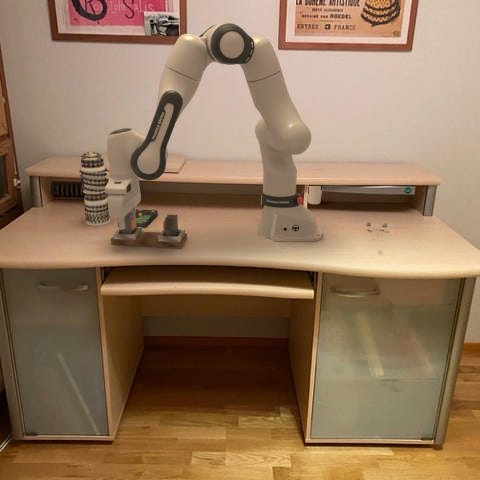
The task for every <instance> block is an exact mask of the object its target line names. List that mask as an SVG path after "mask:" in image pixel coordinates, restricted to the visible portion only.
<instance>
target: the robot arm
mask: <svg viewBox="0 0 480 480" xmlns="http://www.w3.org/2000/svg"><path fill="white" fill-rule="evenodd" d="M212 63H218V64H222V65H229V66H233V65H239V66H240V67H241V69H242V71H243V74H244V78H245V80H246V83H247V84H246V85H247V88H248V90H249V94H250V97H251V99H252V103H253V105H254V107H255V109H256V110H257V111H258V113H259V114H260V116H261V117H260V119H259V120H258V121H257V122H256V125H255V129H254V134H255V137H256V139H257V141H258V145H259V150H260V151H259V152H260V155H261V162H262V170H263V171H262V172H263V173H262V175H263V177H262V178H263V179H262V192H261V194H260V207H261V211H260V212H261V214H260V219H259V222H258V226H257V229H256V232H257V234H258V235H259V236H261V237H264V238H266V239H269V240H271V241H274V242H317V241H320V240H322V238H323V234H324V233H323V229H322V228H321V227H320V226H319V225H317V219H316V216H315V215H314V213H313V212H312V211H310V210H309V209H308V208H307V207H305V205H304V204H303V203H304V199H303V197H302V196H303V195H301V193H298V192H297V178H298V177H297V176H298V169H297V167H296V165H295V162H294V159H293V156H294V155H296V156H298V155H301V154H303V153H305V152H306V151H307V150H308V149H309V147H310V145H311V142H312V133H311V129H310V128H309V127H308V126H307V125H306V124H305V122H304V121H303V119H302V117H301V116H300V113H299V112H298V110H297V108H296V105H295V104H294V102H293V100H292V97H291V95H290V93H289V90H288V87H287V84H286V81H285V77H284V74H283V70H282V67H281V64H280V61H279V58H278V56H277V52H276V51H275V49H274V46H273V45H272V43H271V41H270V39H268V38H267V37H266V36H263V35H255V36H252V37H251V36H250V35H249V34H248V33H247V32H246V31H245V30H244V29H243V28H242V27H241V26H239V25H237V24H235V23H231V22H219V23H216V24H214V25H211V26H210V27H209V28H207V29H206V30H205V31H203V33H202V34H200V35H199V36H198V35H196V34H193V33H184V34H181V35H180V36H179V37H178V38H177V40H176V42H175V43H174V45H173V47H172V49H171V51H170V52H169V54H168V56H167V59H166V62H165V63H164V66H163V70H162V73H161V77H160V82H159V85H158V94H157V103H156V109H155V113H154V116H153V118H152V120H151V121H152V122H151V124H150V126H149V129H148V132H147V134H146V136H145V135H142V134H140V133H139V132H137V131H136V130H134V129H133V128H128V127H127V128H119V129H116V130H113V131H112V132H110V133H109V135H107V142H106V143H107V144H106V149H107V150H106V152H107V155H106V156H107V161H108V163H109V164H108V165H109V168H108V176H109V177H108V180H107V181H108V182H106V183H107V185H106V186H105V192H106V194H107V200H108V211H109V215H110V218H111V219H112V220H116V221H117V225H118V224H119V227H118V229H125V228H126V223H125V221H124V219H125V216H126V215H127V214H128V213H134V218H135V212H136V209H137V206H138V205H139V204H140V203H141V200H142V195H141V188H140V180H139V179H142V180H144V181H155V180H157V179H159V178H160V177H161V176H162V175H163V174H164V173H165V172H166V171H165V170H166V168H167V161H168V156H169V155H168V154H169V153H168V144H169V141H170V139H171V136H172V135H173V134H172V133H173V131H174V129H175V125H176V123H177V122H178V120H179V118H180V116H181V114H182V113H183V111H184V110H186V107H188V105H189V104H190V102H191V101H192V99H193V98H194V96H195V94H196V92H197V90H198V88H199V85H200V83H201V80H202V78H203V75H204V72H205V71H206V69H207V68H208V66H209V65H210V64H212Z"/></svg>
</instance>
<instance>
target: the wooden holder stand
mask: <svg viewBox="0 0 480 480" xmlns="http://www.w3.org/2000/svg"><path fill="white" fill-rule="evenodd" d="M178 217H179V216H178V214H167V216H166V217H164V219H165V220H164V221H163V222H162V225H163V229H162V231H161V232H159V231H143V228H142V227H136V228H135V232H134V233H133V234H122V229H119V228H118V229H117V230H116V231H115V232H114V233H113V235H112V236H111V238H110V245H111V246H112V245H113V246H128V245H135V246H134V247H147V246H148V247H149V248H150V247H152V248H166V247H168V248H169V247H170V248H172V249H183V247H184V246H185V244H186V242H187V240H188V233H186V229H183V228H179V219H178ZM183 245H184V246H183ZM168 248H167V249H168Z"/></svg>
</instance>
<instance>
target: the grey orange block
mask: <svg viewBox="0 0 480 480" xmlns="http://www.w3.org/2000/svg"><path fill="white" fill-rule="evenodd" d="M124 221H125V223H126V228H125V229H122V234H133V233H134V232H135V228H136V227H137V225H136V218H134V213H128V214H127V215H126V216H125V219H124Z"/></svg>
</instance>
